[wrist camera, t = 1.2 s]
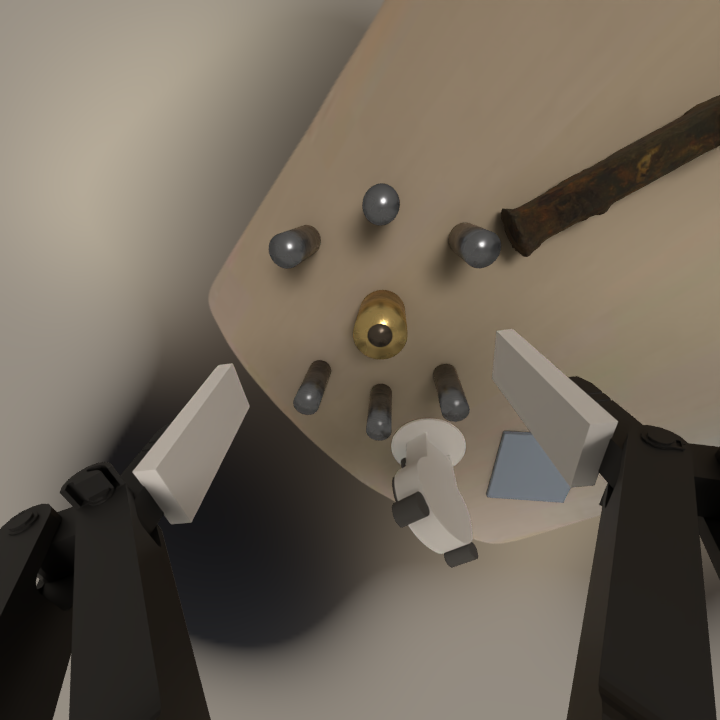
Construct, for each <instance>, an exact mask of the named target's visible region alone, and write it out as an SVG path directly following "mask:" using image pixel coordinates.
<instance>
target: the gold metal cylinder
mask: <svg viewBox="0 0 720 720" xmlns="http://www.w3.org/2000/svg"><path fill="white" fill-rule="evenodd" d="M353 339H354V342H355V344H356V346H357V348H358V349H359V350H360V351H361V352H362V353H363V354H364V355H366V356H368V357H370V358H374V359H387V358H391V357H393V356H395V355H397V354H398V353H399V352H400V351H401V350H402V349H403V347H404V346H405V344H406V341H407V324H406V314H405V306H404V304H403V301H402V300H401V299H400V297H399V296H398V295H396V294H395V293H393V292H391V291H387V290H378V291H374V292H372V293H370V294H369V295H367V296H366V297H365V298H364V300H363V301H362V303H361V306H360V310H359V313H358V316H357V319H356V323H355V326H354V330H353Z"/></svg>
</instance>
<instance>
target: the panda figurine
mask: <svg viewBox="0 0 720 720" xmlns="http://www.w3.org/2000/svg"><path fill="white" fill-rule="evenodd" d="M391 449H392V453H393V456H394V458H395V459H396V460H397V462H398V463H399V464H401V466H402V469H400V470H398V471H397V473H396V474H395V477H393V480H392V487H393V493H394V498H395V501H396V502H395V503H393V505H392V512H393V516H394V519H395V521H396V523H397V524H398V525H399V526H400V527H405V526H407V525H408V526H409V527H410V529H411V530H412V532H413V533H414V534H415V535H416V536H417V538H418V539H419V540H420V541H421V542H422V543H423V544H425V545H426V546H427V547H428V548H430V549H431V550H433V551H434V552H437V553H439V554H443V553H444V558H445V561H446V563H447V564H448V565H449V566H450V567H455V566H458V565H461V564H463V563H467V562H470V561H472V560H475V559H478V553H477V549H476V547H475V545H474V544H473V543H472V524H471V519H470V515H469V512H468V509H467V506H466V504H465V501H464V499H463V497H462V495H461V493H460V492H459V490H458V488H457V483H456V479H455V474H454V469H453V466H455V465H456V464H457V463H458V462H460V460H461V459H462V458H463V456H464V454H465V450H466V442H465V439H464V436H463V434H462V433H461V431H460V430H459V429H458V428H457V427H456V426H454V425H453V424H451V423H449V422H447V421H444V420H441V419H435V418H422V419H417V420H413V421H411V422H408V423H406V424H405V425H403V426H402V427H400V428H399V429H398V430H397V432H396V433H395V434H394V436H393V439H392V443H391Z"/></svg>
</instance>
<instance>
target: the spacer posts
mask: <svg viewBox="0 0 720 720" xmlns="http://www.w3.org/2000/svg"><path fill="white" fill-rule="evenodd" d="M362 206H363V212H364V214H365V216H366V218H367V219H368V220H369V221H370V222H371V223H373V224H375V225H386V224H388V223H390V222H391V221H392V220H393V219H394V218H395V217H396V215H397V213H398V211H399V206H400V202H399V197H398V194H397V192H396V191H395V190H394V189H393V188H392V187H391V186H389V185H387V184H376V185H374V186H372V187H371V188H370V189H369V190H368V191H367V192H366V194H365V196H364V198H363V205H362ZM448 241H449V245H450V247H451V248H452V249H453V250H454V251H455V252H456V253H457V254H458V255H459V256H460V257H461V258H462V259H463V260H464V261H465V262H467V263H468V264H469V265H470V266H472V267H474V268H484V267H487V266H489V265H491V264H492V263H493V262H494V261H495V260H496V259H497V257H498V256H499V254H500V250H501V242H500V239H499V237H498V236H497V235H496V234H495V233H494V232H492V231H489V230H486V229H483V228H481V227H478V226H475V225H473V224H470V223H460V224H458V225H456V226H455V227H454V228H453V229H452V230H451V232H450V234H449V239H448ZM320 244H321V238H320V235H319V233H318V231H317V230H316V229H315V228H314V227H312V226H309V225H304V226H300V227H298V228H295V229H292V230H289V231H286V232H283V233H280V234H277V235H275V236H274V237H273V238H272V239H271V241H270V243H269V254H270V256H271V258H272V260H273V261H274V263H275V264H277V265H278V266H280V267H282V268H287V269H288V268H293V267H295V266H296V265H298V264H299V263H300V262H302V261H303V260H305V259H306V258H307V257H309V256H310V255H312V254H313V253H314V252H316V251H317V250H318V249H319V247H320ZM330 374H331V367H330V366H329V364H328V363H326V362H325V361H322V360H317V361H314V362H313V363H312V364H311V366H310V368H309V370H308V372H307V374H306V376H305V378H304V380H303V382H302V384H301V386H300V388H299V390H298V392H297V394H296V396H295V398H294V401H293V404H294V407H295V409H296V410H297V411H298V412H300V413H302V414H306V415H311V414H314V413H315V412H316V411H317V410H318V408H319V405H320V402H321V399H322V397H323V394H324V391H325V388H326V385H327V382H328V380H329V377H330ZM433 375H434V380H435V385H436V389H437V394H438V398H439V403H440V407H441V412H442V415H443V417H444V418H445V419H447V420H449V421H454V422H456V421H461V420H463V419H465V418H466V417H467V416H468V414H469V411H470V409H469V406H468V403H467V400H466V397H465V394H464V392H463V389H462V386H461V383H460V380H459V377H458V375H457V372H456V369H455V368H454V367H453V366H452V365H450V364H442V365H439V366H438V367H436V368H435V370H434V373H433ZM391 414H392V391H391V389H390V387H389V386H387V385H385V384H377V385H375V386H373V387H372V389H371V393H370V402H369V410H368V419H367V427H366V432H367V435H368V436H369V437H370V438H372V439H374V440H378V441H380V440H385V439H387V438H388V437H389V436H390V435H391Z"/></svg>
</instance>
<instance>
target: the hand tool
mask: <svg viewBox="0 0 720 720" xmlns="http://www.w3.org/2000/svg"><path fill="white" fill-rule="evenodd" d="M719 145H720V95H719V96H716V97H714V98H711V99H709V100H707V101H705V102H703V103H700V104H698V105H696V106H695V107H693V108H692V109H690V110H689V111H687V112H686V113H685V114H684V116H682V117H680V118H678V119H676V120H675V121H673V122H671V123H669V124H667V125H665V126H664V127H662V128H660V129H658V130H656V131H654V132H652V133H650V134H648V135H647V136H645V137H643V138H641V139H640V140H638V141H636V142H634V143H632V144H630V145H628V146H626V147H624V148H623V149H621V150H619V151H617V152H616V153H614V154H612V155H611V156H609V157H608V158H606V159H605V160H603V161H601V162H599V163H597V164H595V165H594V166H592V167H590V168H588V169H585V170H583V171H582V172H580V173H578V174H576V175H574V176H572V177H570V178H568V179H566V180H564V181H562V182H561V183H559V184H558V185H557V186H555V187H553V188H551V189H550V190H548V191H547V192H546V193H544V194H543V195H541V196H539V197H537V198H535V199H534V200H532V201H530V202H528V203H526V204H524V205H522V206H521V207H519V208H516V209H502V212H501V215H502V216H501V218H502V221H503V224H504V228H505V232H506V234H507V237H508V239H509V241H510V242H511V244H512V247H513V248H515V250H516V251H517V252H519V253H520V254H521V255H522V256H524V257H528V256H529V255H530V254H531V253H532V252H533V251H534V250H536V249H537V248H538V247H539V246H540V245H541V243H542V242H544V241H545V240H546V239H548V238H549V237H551V236H553V235H555V234H557V233H559V232H561V231H563V230H565V229H566V228H568V227H570V226H572V225H573V224H575V223H577V222H580V221H583V220H586V219H588V218H589V217H590V216H594V215H601V214H604V213H605V212H607V210H608V209H609V207H610V206H611V205H612V204H613V203H614V202H616V201H618V200H620V199H622V198H623V197H625V196H627V195H629V194H631V193H632V192H634V191H636V190H638V189H640V188H642V187H644V186H646V185H648V184H650V183H651V182H653V181H655V180H656V179H658V178H660V177H662V176H664V175H666V174H668V173H669V172H671V171H673V170H675V169H676V168H678V167H680V166H682V165H684V164H685V163H687V162H689V161H691V160H693V159H694V158H696V157H698V156H700V155H702V154H703V153H705V152H707V151H710V150H712V149H714V148H716V147H717V146H719Z"/></svg>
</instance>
